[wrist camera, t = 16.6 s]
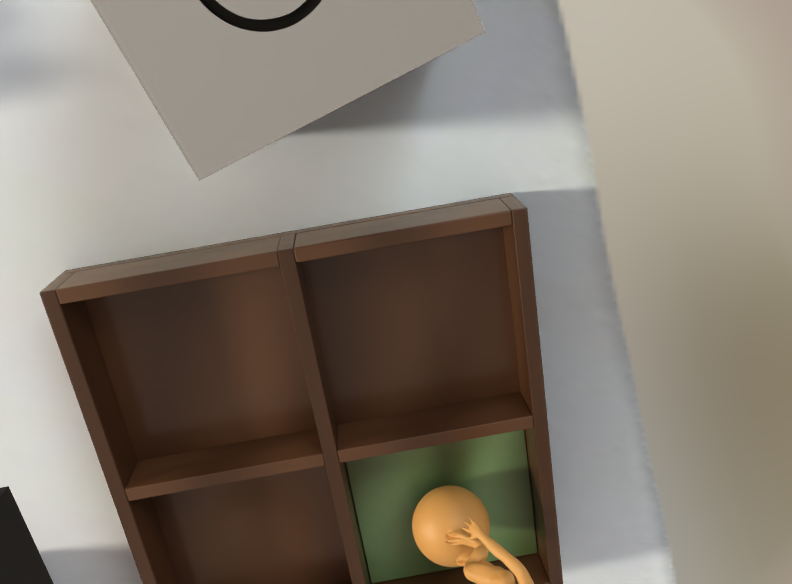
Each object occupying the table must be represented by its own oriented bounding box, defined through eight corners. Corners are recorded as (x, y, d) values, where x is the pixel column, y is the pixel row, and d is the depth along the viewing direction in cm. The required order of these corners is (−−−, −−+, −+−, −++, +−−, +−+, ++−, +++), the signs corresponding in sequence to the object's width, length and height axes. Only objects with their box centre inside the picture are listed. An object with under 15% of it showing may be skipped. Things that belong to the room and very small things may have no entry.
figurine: (384, 452, 37) (405, 634, 26) (492, 413, 37) (562, 579, 26) (435, 570, 40) (474, 780, 29) (536, 535, 40) (617, 732, 28)
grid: (511, 192, 34) (527, 207, 31) (547, 551, 41) (563, 590, 38) (64, 270, 33) (38, 292, 30) (182, 619, 41) (171, 663, 38)
